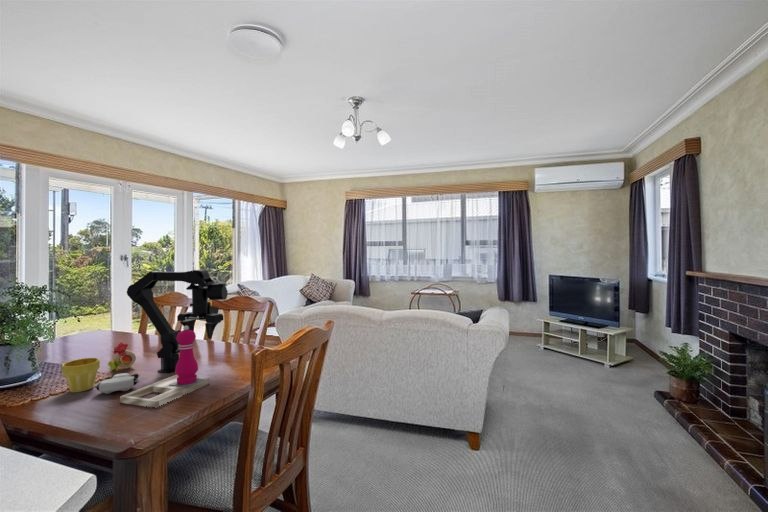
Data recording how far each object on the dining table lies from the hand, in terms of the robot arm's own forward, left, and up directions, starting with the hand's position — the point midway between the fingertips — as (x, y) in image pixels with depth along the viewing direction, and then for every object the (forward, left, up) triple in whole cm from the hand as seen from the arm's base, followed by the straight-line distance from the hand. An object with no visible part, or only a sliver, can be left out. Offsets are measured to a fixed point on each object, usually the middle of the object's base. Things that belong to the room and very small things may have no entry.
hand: (200, 338), depth 151 cm
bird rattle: (-33, -8, -13) cm, 36 cm away
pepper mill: (+11, -18, -11) cm, 23 cm away
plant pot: (-25, -29, -13) cm, 41 cm away
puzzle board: (+7, -23, -13) cm, 27 cm away
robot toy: (-13, -25, -14) cm, 31 cm away
